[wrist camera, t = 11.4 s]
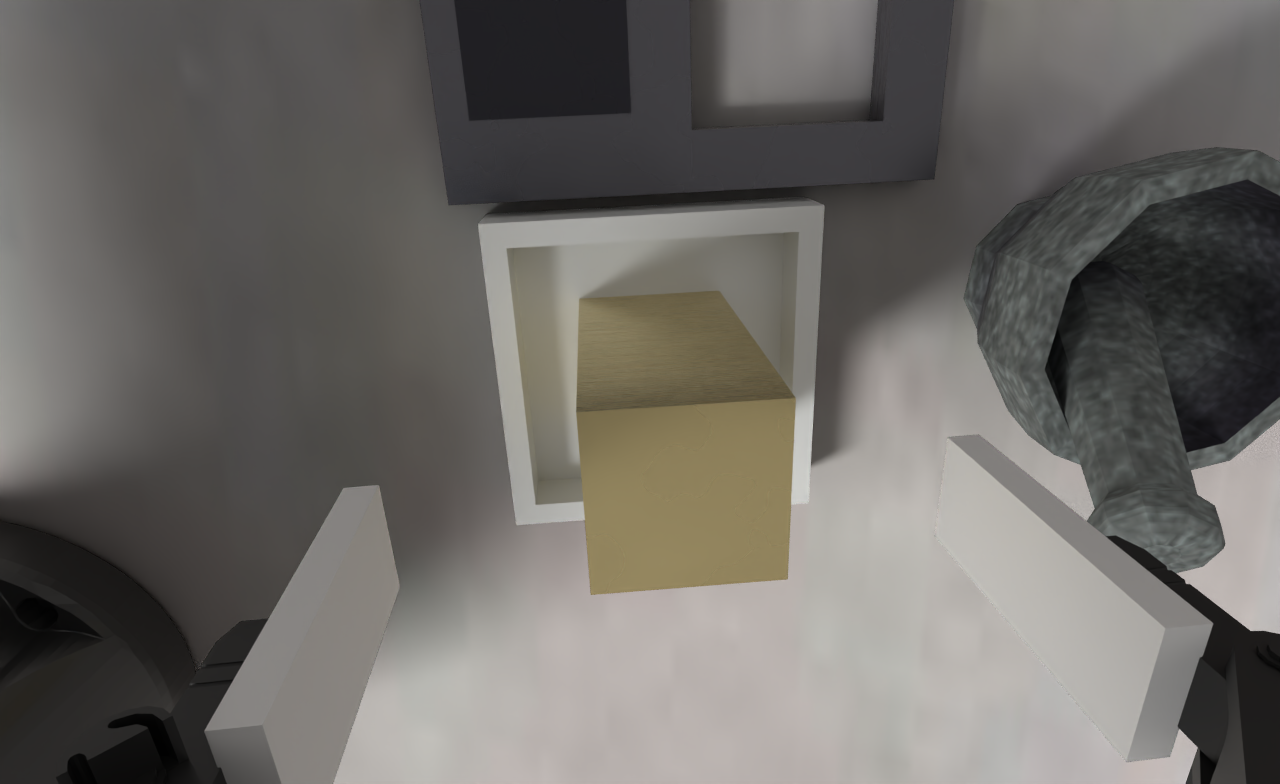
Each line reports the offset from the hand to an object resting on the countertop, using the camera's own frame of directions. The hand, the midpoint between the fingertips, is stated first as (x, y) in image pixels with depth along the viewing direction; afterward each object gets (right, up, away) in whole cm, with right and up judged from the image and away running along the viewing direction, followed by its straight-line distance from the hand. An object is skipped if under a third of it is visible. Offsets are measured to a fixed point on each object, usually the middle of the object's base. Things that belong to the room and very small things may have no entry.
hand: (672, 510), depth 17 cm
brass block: (0, +4, +10) cm, 11 cm away
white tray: (0, +4, +10) cm, 11 cm away
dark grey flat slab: (+1, +14, +6) cm, 16 cm away
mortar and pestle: (+14, +7, +10) cm, 19 cm away
